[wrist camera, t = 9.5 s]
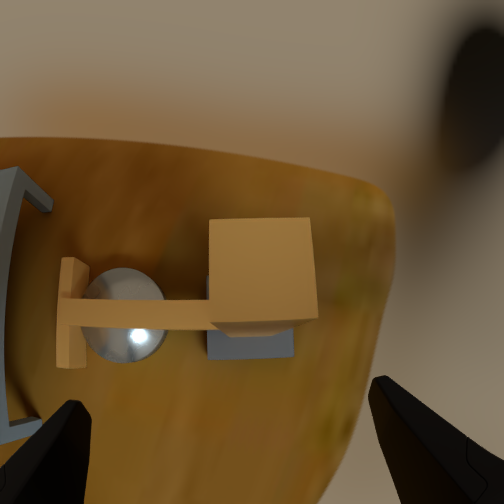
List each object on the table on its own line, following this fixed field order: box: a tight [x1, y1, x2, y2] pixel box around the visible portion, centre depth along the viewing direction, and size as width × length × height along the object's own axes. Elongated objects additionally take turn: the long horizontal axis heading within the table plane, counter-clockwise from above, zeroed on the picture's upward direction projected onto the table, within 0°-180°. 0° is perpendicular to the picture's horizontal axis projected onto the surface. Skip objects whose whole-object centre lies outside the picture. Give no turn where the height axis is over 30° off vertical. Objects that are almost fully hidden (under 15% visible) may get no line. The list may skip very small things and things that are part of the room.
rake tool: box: [56, 218, 318, 369], centre depth 13 cm, size 14×7×13 cm, turn 92°
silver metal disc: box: [81, 268, 168, 363], centre depth 19 cm, size 6×6×1 cm
